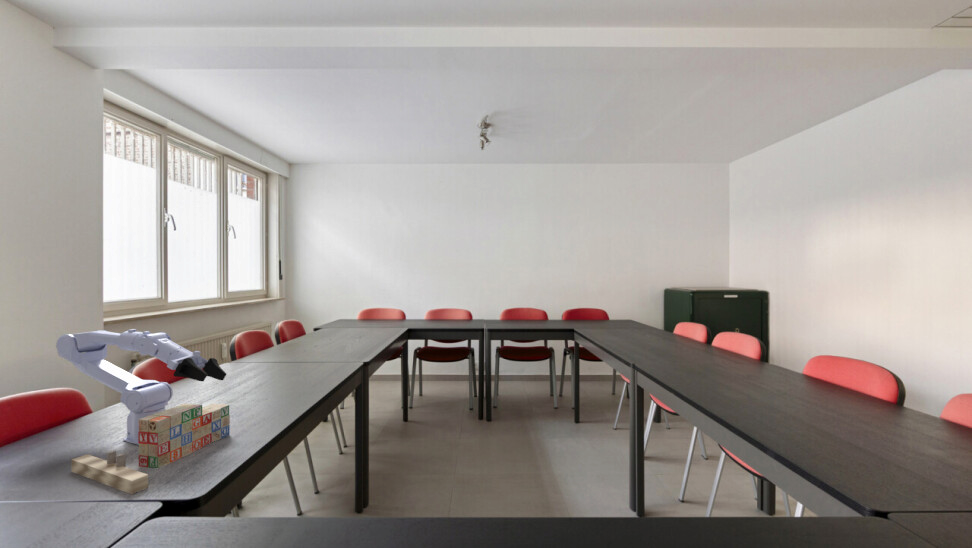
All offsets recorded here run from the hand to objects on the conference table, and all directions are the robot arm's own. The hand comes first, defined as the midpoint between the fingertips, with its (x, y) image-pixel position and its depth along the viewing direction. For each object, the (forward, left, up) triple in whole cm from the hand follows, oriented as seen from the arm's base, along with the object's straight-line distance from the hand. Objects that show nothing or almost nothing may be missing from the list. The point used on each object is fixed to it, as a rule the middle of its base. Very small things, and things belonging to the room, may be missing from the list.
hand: (214, 377), depth 112 cm
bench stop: (-3, -22, -19) cm, 30 cm away
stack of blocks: (-3, -5, -19) cm, 20 cm away
